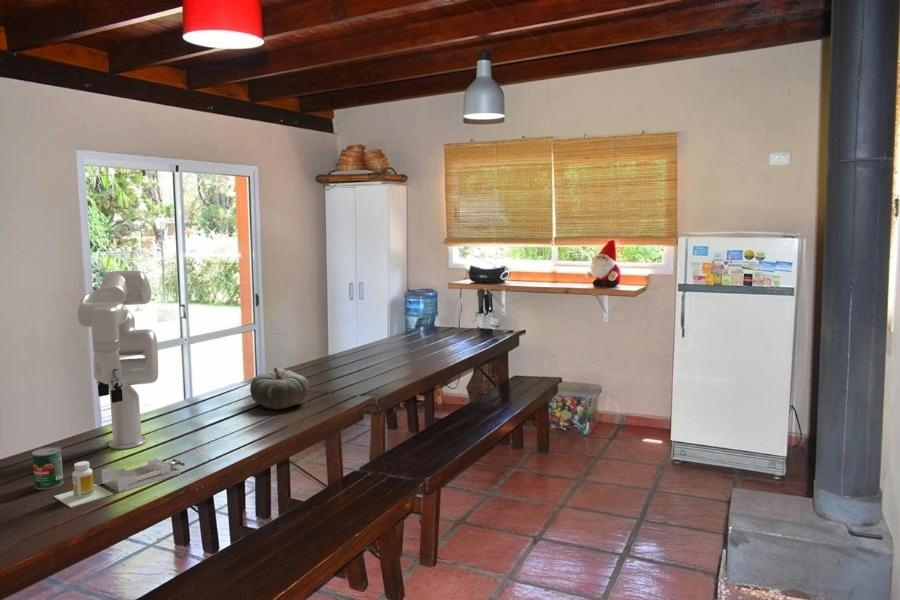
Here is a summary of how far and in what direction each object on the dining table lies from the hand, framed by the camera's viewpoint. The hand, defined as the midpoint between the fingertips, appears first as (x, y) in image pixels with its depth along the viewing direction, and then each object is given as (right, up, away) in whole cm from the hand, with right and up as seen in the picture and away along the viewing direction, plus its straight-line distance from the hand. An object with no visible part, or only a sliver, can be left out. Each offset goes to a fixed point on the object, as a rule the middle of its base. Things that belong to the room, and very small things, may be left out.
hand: (110, 398), depth 218 cm
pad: (-2, -28, -12) cm, 30 cm away
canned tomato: (-18, -27, -2) cm, 32 cm away
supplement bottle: (-2, -27, -12) cm, 30 cm away
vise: (+10, -26, +3) cm, 28 cm away
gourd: (+33, -16, +87) cm, 95 cm away
